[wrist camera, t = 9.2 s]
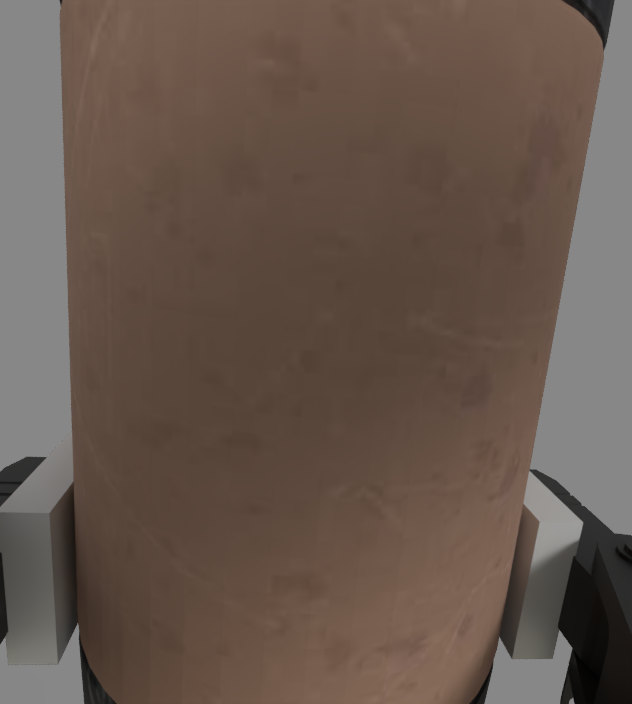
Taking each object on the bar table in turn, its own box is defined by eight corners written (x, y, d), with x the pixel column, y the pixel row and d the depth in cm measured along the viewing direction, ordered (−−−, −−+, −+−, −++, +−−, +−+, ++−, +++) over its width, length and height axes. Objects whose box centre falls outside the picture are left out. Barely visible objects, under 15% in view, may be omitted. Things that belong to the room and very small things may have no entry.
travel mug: (501, 923, 12) (740, -103, 7) (202, 1393, 7) (316, -1003, 2) (295, 688, 17) (349, 27, 13) (48, 853, 12) (-19, -133, 8)
